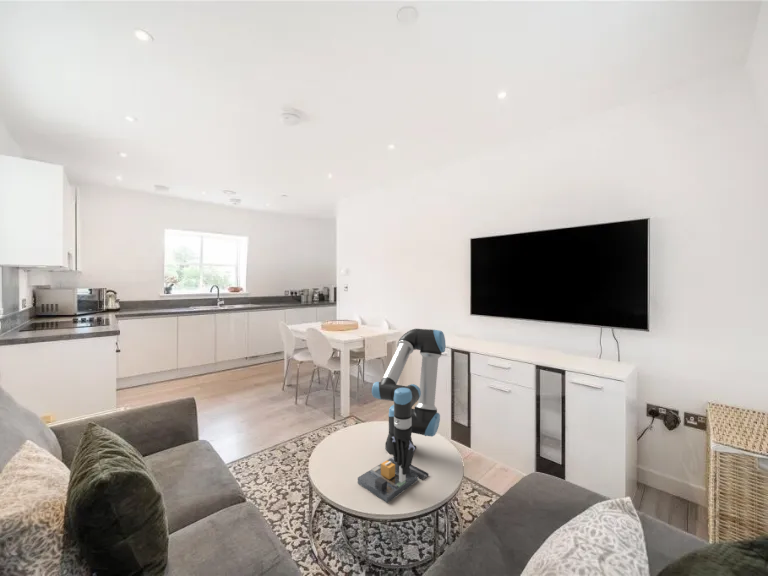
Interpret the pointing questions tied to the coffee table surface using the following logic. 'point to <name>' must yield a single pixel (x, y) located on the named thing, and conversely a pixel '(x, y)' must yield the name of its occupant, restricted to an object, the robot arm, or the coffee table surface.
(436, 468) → the coffee table surface
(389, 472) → the slider
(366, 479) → the panel
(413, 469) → the grey cylinders
